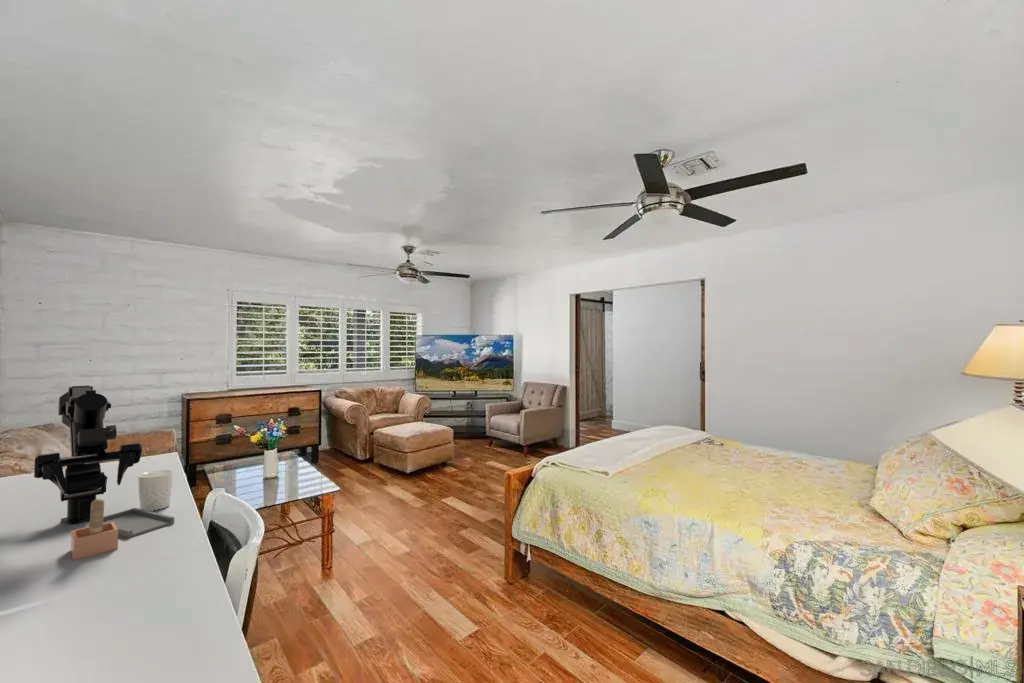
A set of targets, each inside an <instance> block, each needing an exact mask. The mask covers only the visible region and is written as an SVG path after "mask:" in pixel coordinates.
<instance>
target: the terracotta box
mask: <svg viewBox="0 0 1024 683" xmlns="http://www.w3.org/2000/svg"><path fill="white" fill-rule="evenodd" d="M70 532H71V533H70V535H71V536H70V552H71V556H72V559H73V561H75V560H76V561H77V560H80V559H84V558H88V557H91V556H95V555H99V554H103V553H107V552H111V551H115V550H118V549H119V536H118V528H117V526H116V525H115V523H114V521H113V522H109V523H104V524H103V529H102V532H101V533H97V534H92V535H89V526H87V527H82V528H77V529H73V530H70Z"/></svg>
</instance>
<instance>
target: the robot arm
mask: <svg viewBox="0 0 1024 683" xmlns="http://www.w3.org/2000/svg"><path fill="white" fill-rule="evenodd" d="M93 388H94V387H93V386H92V385H91V386H90V385H72V386H70V387H68V389H67V390H68V391H66V392H65V393H64V394H62V395H61V396H59V398H58V406H57V407H58V408H57V409H58V412H57V414H58V416H61V422H62V424H63V425H65V426H67V427H68V428H69V436H70V438H69V439H70V456H65V457H61V456H60V452H53V453H45V454H44V453H43V454H38V455H37V456H35V458H34V470H33V475H34V476H33V477H34V478H35V479H41V478H42V480H44V481H47V480H49V481H50V482H52V483H53V484H54V485H55V486H56V487H57V488H58V489H59V490H60V492H59V493H60V494H59V499H60V502H67V503H66V504H67V507H66V508H67V509H66V515H67V516H66V517H63V518H61V519H60V522H63V523H64V522H65V523H68V524H70V525H74V524H78V523H81V522H85V521H88V520H89V521H90V510H91V503H92V502H93V501H94V500H96V499H97V495H98V496H99V495H104V493H106V492H107V482H108V476H107V475H106V474H105V472H104V471H102V469H101V464H100V463H103V462H107V461H108V462H109V461H116V460H118V466H117V475H116V476H117V477H116V483H117V486H120V485H121V483H122V479H123V478H124V475H125V473H126V472H127V470H128V469H129V468H130V467H133V466H134V465H135V464H138V463H139V462H140V461H141V456H142V452H143V448H142V444H140V443H138V442H134V443H133V442H132V443H126V444H121V445H120V448H119V450H117V451H108V452H107V450H108V448H109V447H108V441H109V440H115V439H116V438H117V435H118V434H117V433H118V432H117V425H116V424H113V425H106V426H105V427H104V420H105V417H106V413H107V412H108V411H109V409H111V408H112V403H111V402H109V401H108V398H107V397H106V396H104V395H103V394H100V393H97V390H95V389H93ZM64 467H66V468H65V470H64Z"/></svg>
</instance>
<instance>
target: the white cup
mask: <svg viewBox="0 0 1024 683" xmlns="http://www.w3.org/2000/svg"><path fill="white" fill-rule="evenodd" d="M137 476H138V478H137V479H138V498H139V500H138V501H139V503H140V504H139V506H140V508H139V509H142V510H146V511H150V512H153V511H152V510H156V511H159V510H158V509H161V510H163V509H162V508H164V507H166V508H168V507H170V505H171V495H172V488H173V487H172V486H173V470H172V469H171V470H170V469H161V470H160V469H159V470H154V471H153V470H152V471H149V472H148V471H147V472H144V473H141V474H139V475H137ZM167 506H168V507H167ZM164 509H165V508H164Z"/></svg>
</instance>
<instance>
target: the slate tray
mask: <svg viewBox="0 0 1024 683" xmlns="http://www.w3.org/2000/svg"><path fill="white" fill-rule="evenodd" d="M113 521H114V523H115V525H116V526H117V528H118V537H122V538H124V539H125V538H126V539H131V538H135V537H137V536H140V535H143V534H146V533H149V532H153V531H155V530H158V529H162V528H164V527H167V526H171V525H174V524H175V517H174V516H171V515H167V514H162V513H159V512H158V513H157V512H156V511H155V512H154V511H146V510H142V509H140V508H138V507H133V508H130V509H126V510H122V511H119V512H116V513H112V514H108V515H104V516H103V524H104V523H109V522H113ZM89 526H90V520H89V521H88V527H89Z"/></svg>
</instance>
